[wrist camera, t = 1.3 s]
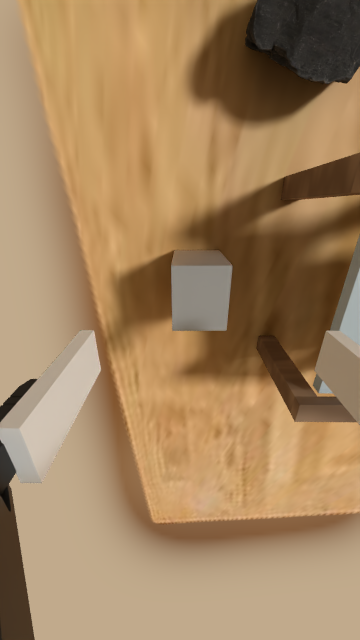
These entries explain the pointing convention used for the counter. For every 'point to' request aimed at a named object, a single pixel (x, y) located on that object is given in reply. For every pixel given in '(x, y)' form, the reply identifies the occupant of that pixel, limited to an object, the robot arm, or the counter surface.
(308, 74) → the rock
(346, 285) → the trapdoor
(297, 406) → the trapdoor frame
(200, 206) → the counter surface
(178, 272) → the grey rectangular block
